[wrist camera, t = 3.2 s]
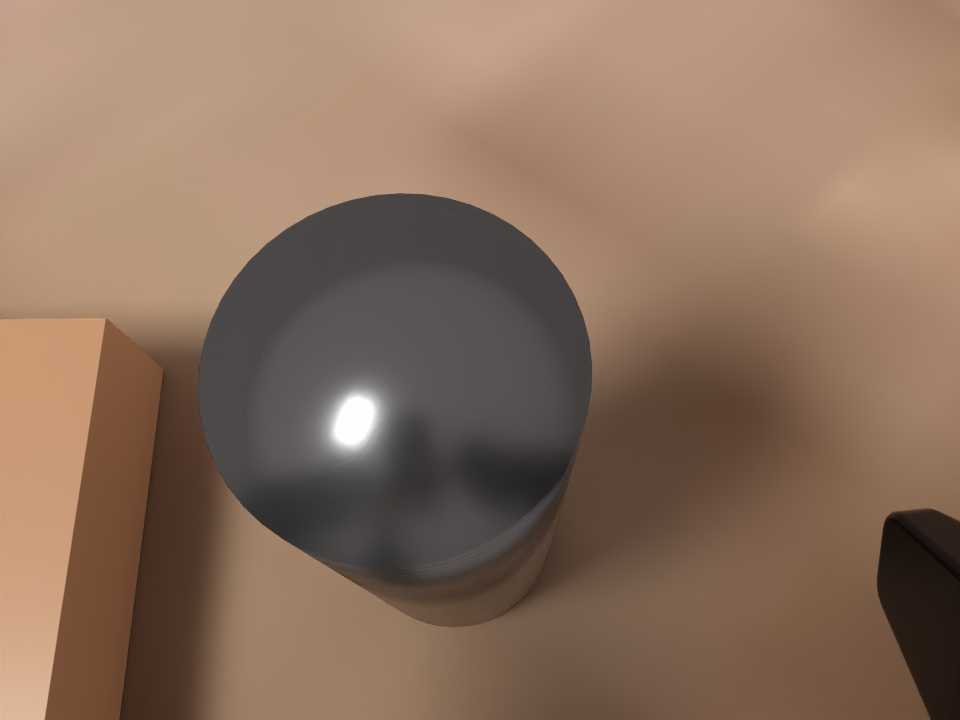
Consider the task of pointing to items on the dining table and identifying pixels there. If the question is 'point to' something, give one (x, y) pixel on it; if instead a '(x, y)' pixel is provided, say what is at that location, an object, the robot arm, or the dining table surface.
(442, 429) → the cylinder
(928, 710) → the robot arm
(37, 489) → the docking socket
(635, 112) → the dining table surface
